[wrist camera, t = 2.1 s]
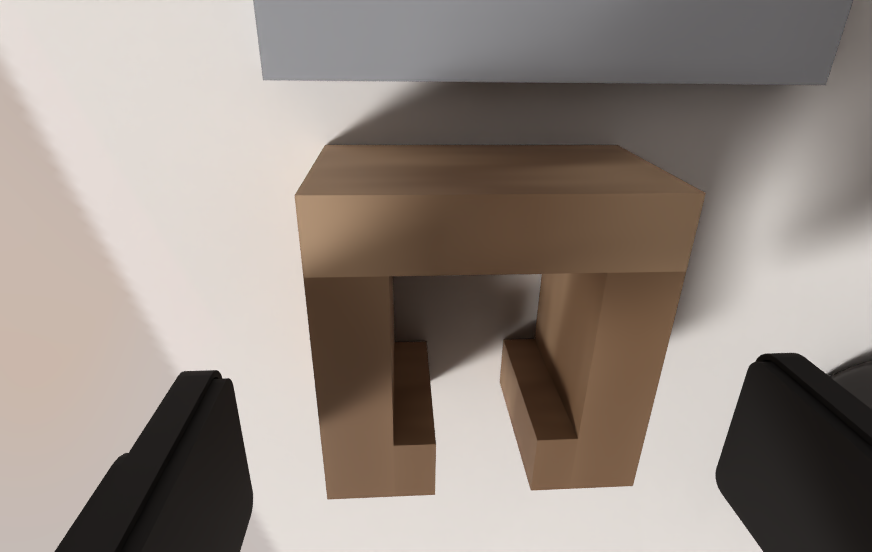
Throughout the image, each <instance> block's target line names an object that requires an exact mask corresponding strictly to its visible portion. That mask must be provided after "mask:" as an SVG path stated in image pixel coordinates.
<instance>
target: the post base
mask: <svg viewBox="0 0 872 552" xmlns="http://www.w3.org/2000/svg"><path fill="white" fill-rule="evenodd" d="M253 2H254V10H255V18H256V26H257V34H258V43H259V51H260V59H261V67H262V75H263V80H307V81H420V82H534V83H648V84H762V85H826V83H827V80H828V77H829V74H830V71H831V68H832V65H833V61H834V58H835V55H836V52H837V49H838V46H839V43H840V40H841V37H842V34H843V30H844V27H845V24H846V21H847V18H848V15H849V12H850V9H851V6H852V3H853V0H253Z"/></svg>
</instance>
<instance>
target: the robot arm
mask: <svg viewBox="0 0 872 552" xmlns="http://www.w3.org/2000/svg"><path fill="white" fill-rule="evenodd" d="M715 474H716V482H717V485H718V488H719V490H720V492H721V493H722V495H723V496H724V497H725V499H726V500H727V502H728V503H729V504H730V506H731V507H732V509H733V510H734V511H735V513H736V514H737V515H738V517H739V518H740V520H741V521H742V522H743V524H744V525H745V527H746V528H747V529H748V531H749V532H750V534H751V535H752V536H753V538H754V539H755V541H756V542H757V543H758V545H759V546H760V547H761V549H762V550H763V552H872V409H870V408H869V407H868V406H867V405H865V404H864V403H863V402H861V401H860V400H859V399H858V398H856V397H855V396H854V395H852V394H851V393H850V392H849V391H847V390H846V389H845V388H843V387H842V386H841V385H840V384H838V383H837V382H836V381H834V380H833V379H832V378H831V377H829V376H828V375H827V374H825V373H824V372H823V371H822V370H820V369H819V368H818V367H816V366H815V365H814V364H813V363H811V362H810V361H809V360H807V359H806V358H805V357H803V356H802V355H800V354H797V353H772V354H763V355H760V356H759V357H758V358H757V360H756V362H754V363H752V364H751V365H750V366H749V368H748V370H747V374H746V377H745V380H744V383H743V386H742V389H741V393H740V396H739V399H738V402H737V405H736V408H735V412H734V415H733V418H732V421H731V424H730V427H729V431H728V434H727V437H726V440H725V443H724V446H723V449H722V453H721V456H720V459H719V462H718V465H717V468H716V473H715ZM252 507H253V491H252V485H251V480H250V475H249V469H248V464H247V458H246V453H245V447H244V442H243V436H242V431H241V425H240V420H239V414H238V409H237V404H236V398H235V393H234V387H233V383H232V381H231V379H229V378H227V379H222V376H221V374H220V372H219V371H217V370H211V371H184V372H181V373H180V375H179V376H178V377H177V379H176V380H175V382H174V383H173V385H172V386H171V388H170V390H169V391H168V393H167V394H166V396H165V397H164V399H163V400H162V402H161V404H160V405H159V407H158V408H157V410H156V412H155V413H154V415H153V416H152V418H151V419H150V421H149V422H148V424H147V425H146V427H145V428H144V430H143V431H142V433H141V435H140V436H139V438H138V439H137V441H136V442H135V444H134V445H133V447H132V449H131V450H130V452H129V453H125V454H123V455H121V456H120V457H118V459H117V460H116V461H115V462H114V464H113V465H112V466H111V468H110V469H109V470H108V472H107V474H106V475H105V476H104V478H103V479H102V481H101V483H100V484H99V486H98V487H97V489H96V490H95V492H94V493H93V495H92V496H91V498H90V499H89V501H88V502H87V504H86V505H85V507H84V508H83V510H82V511H81V513H80V514H79V516H78V517H77V519H76V520H75V522H74V523H73V525H72V526H71V528H70V529H69V531H68V532H67V534H66V535H65V537H64V538H63V540H62V541H61V543H60V544H59V546H58V548H57V549H56V550H55V552H240V550H241V546H242V543H243V540H244V536H245V533H246V530H247V527H248V523H249V520H250V517H251V513H252Z"/></svg>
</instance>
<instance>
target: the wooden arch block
mask: <svg viewBox="0 0 872 552" xmlns="http://www.w3.org/2000/svg"><path fill="white" fill-rule="evenodd" d="M705 194H706V193H705V192H703V191H701V190H699V189H697V188H695V187H694V186H692V185H690V184H688V183H686V182H684V181H683V180H681V179H679V178H677V177H675V176H673V175H672V174H670V173H668V172H666V171H664V170H662V169H661V168H659V167H657V166H655V165H653V164H651V163H650V162H648V161H646V160H644V159H642V158H640V157H639V156H637V155H635V154H633V153H631V152H629V151H628V150H626V149H624V148H622V147H620V146H618V145H325V146H324V148H323V149H322V151H321V153H320V154H319V156H318V158H317V159H316V161H315V163H314V164H313V166H312V168H311V169H310V171H309V173H308V174H307V176H306V178H305V179H304V181H303V183H302V184H301V186H300V187H299V189H298V191H297V192H296V194H295V204H296V213H297V222H298V231H299V241H300V250H301V259H302V268H303V278H304V287H305V296H306V305H307V314H308V324H309V333H310V342H311V351H312V361H313V370H314V379H315V388H316V398H317V407H318V416H319V425H320V435H321V444H322V453H323V462H324V472H325V481H326V490H327V499H347V498H370V497H392V496H415V495H435V463H436V440H435V429H434V418H433V407H432V396H431V385H430V374H429V363H428V353H427V342H426V341H422V342H395V339H394V298H393V276H441V275H503V274H542V277H541V286H540V295H539V303H538V312H537V321H536V330H535V338H534V339H504V340H503V350H502V362H501V374H500V384H501V388H502V391H503V395H504V398H505V402H506V405H507V409H508V412H509V416H510V419H511V423H512V426H513V430H514V433H515V437H516V440H517V444H518V447H519V451H520V454H521V458H522V461H523V465H524V468H525V472H526V475H527V479H528V482H529V486H530V489H531V490H551V489H573V488H596V487H619V486H633V483H634V479H635V475H636V471H637V467H638V463H639V459H640V455H641V451H642V447H643V443H644V439H645V435H646V431H647V427H648V423H649V419H650V415H651V411H652V407H653V403H654V399H655V395H656V391H657V387H658V383H659V379H660V375H661V371H662V367H663V363H664V359H665V355H666V351H667V347H668V343H669V339H670V335H671V331H672V327H673V323H674V319H675V315H676V311H677V307H678V303H679V299H680V294H681V290H682V286H683V282H684V278H685V274H686V270H687V266H688V262H689V258H690V254H691V250H692V246H693V242H694V238H695V234H696V230H697V226H698V222H699V218H700V214H701V210H702V206H703V202H704V198H705Z"/></svg>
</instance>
